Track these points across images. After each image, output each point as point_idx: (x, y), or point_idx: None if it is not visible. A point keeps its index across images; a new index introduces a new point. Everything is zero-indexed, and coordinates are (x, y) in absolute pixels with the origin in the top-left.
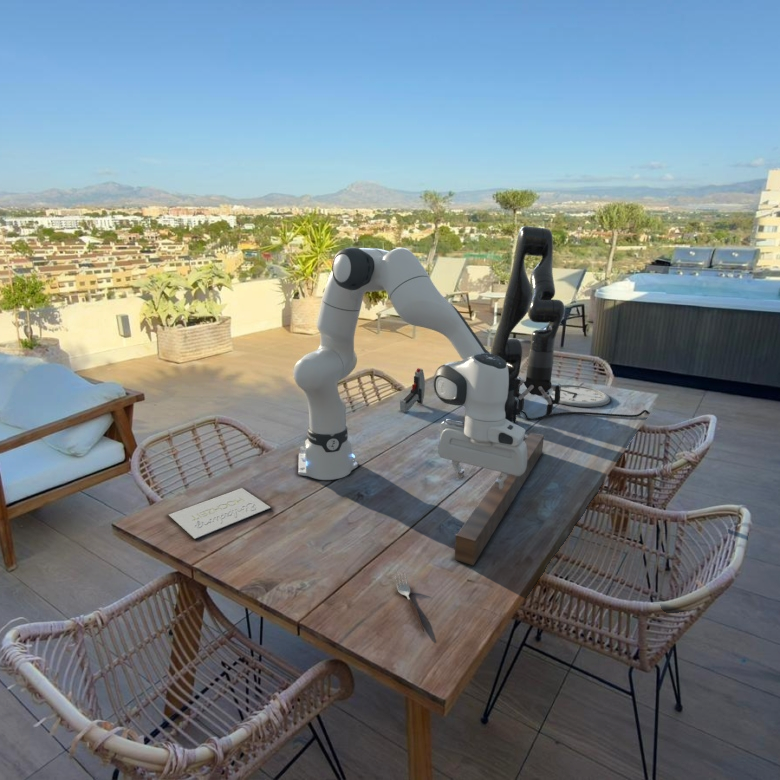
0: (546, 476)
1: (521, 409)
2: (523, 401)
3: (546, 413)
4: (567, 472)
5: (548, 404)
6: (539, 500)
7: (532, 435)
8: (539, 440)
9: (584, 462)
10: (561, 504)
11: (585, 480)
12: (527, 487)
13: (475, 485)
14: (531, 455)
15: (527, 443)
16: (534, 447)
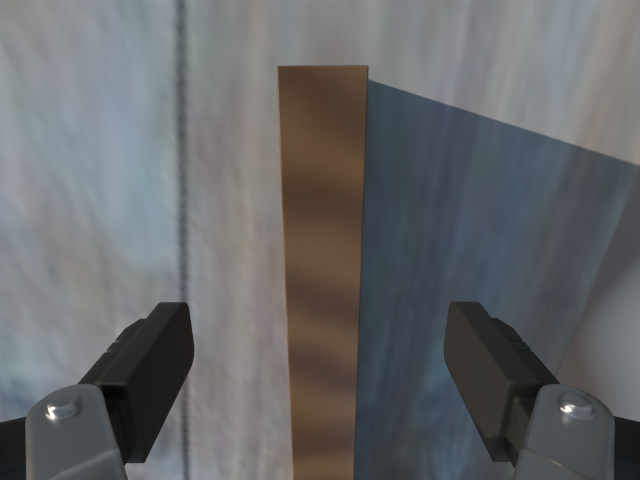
0: (413, 309)
1: (188, 367)
2: (150, 386)
3: (451, 373)
4: (489, 237)
5: (505, 446)
6: (415, 457)
7: (301, 114)
8: (358, 176)
9: (568, 88)
10: (477, 451)
11: (558, 273)
12: (367, 407)
13: (221, 459)
14: (357, 364)
15: (307, 254)
16: (353, 286)
